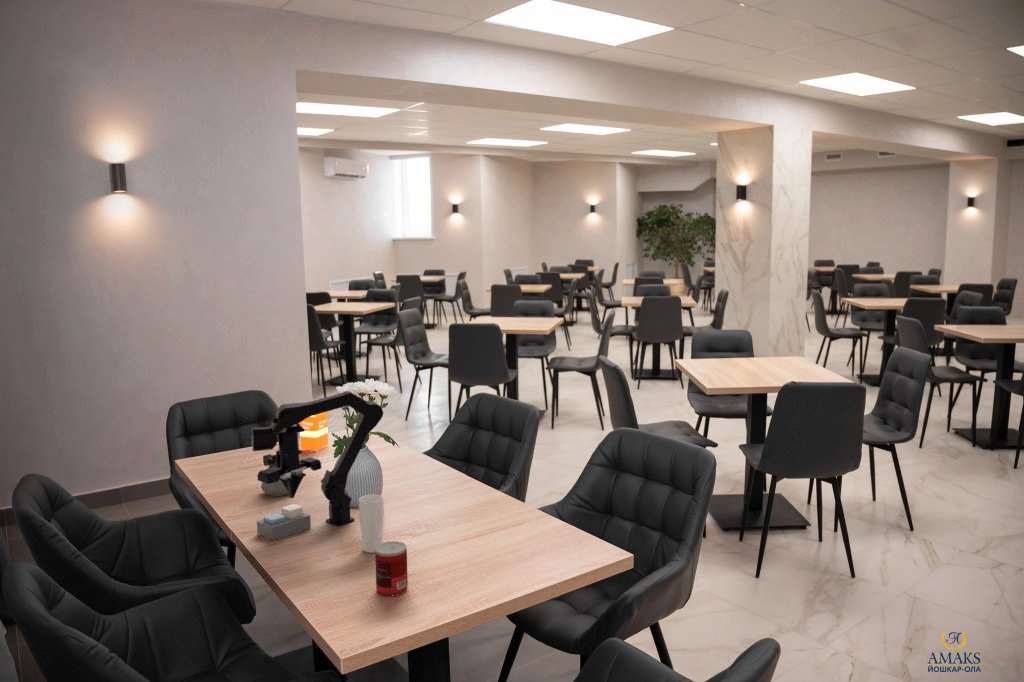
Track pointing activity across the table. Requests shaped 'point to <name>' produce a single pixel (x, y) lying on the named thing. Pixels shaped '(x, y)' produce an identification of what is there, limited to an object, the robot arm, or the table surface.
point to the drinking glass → (371, 521)
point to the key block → (283, 527)
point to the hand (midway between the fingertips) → (291, 497)
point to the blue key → (274, 519)
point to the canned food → (391, 568)
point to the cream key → (292, 511)
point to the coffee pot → (274, 486)
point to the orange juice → (314, 432)
